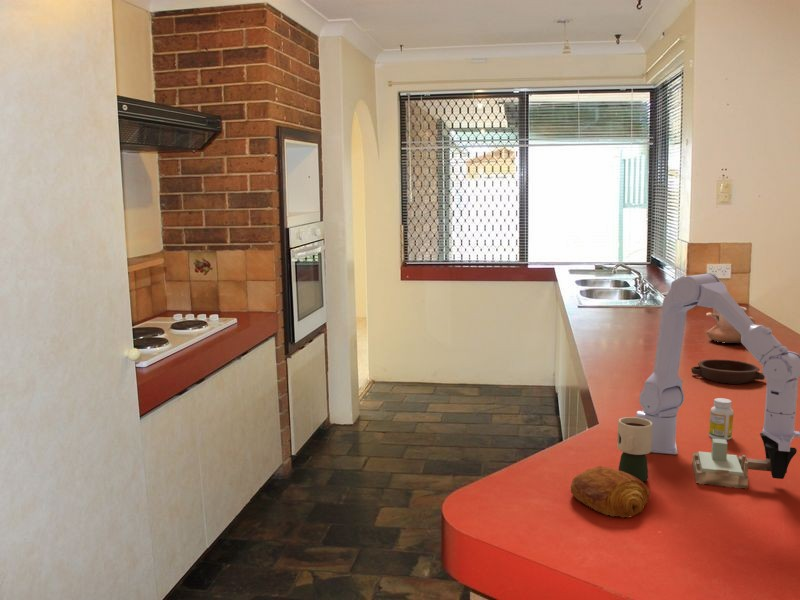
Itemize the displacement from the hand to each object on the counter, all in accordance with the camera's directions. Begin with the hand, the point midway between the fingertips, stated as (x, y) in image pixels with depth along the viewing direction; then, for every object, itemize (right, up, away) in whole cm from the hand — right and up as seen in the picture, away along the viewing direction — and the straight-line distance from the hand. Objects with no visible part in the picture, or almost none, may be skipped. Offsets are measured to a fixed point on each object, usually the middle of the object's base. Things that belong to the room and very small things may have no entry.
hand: (775, 472), depth 160 cm
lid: (-9, 0, +6) cm, 11 cm away
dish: (+27, +10, +87) cm, 92 cm away
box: (-9, -2, +6) cm, 11 cm away
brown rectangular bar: (-2, +1, 0) cm, 2 cm away
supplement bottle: (+2, +2, +32) cm, 32 cm away
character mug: (-29, -3, +5) cm, 29 cm away
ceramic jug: (+52, +19, +142) cm, 153 cm away
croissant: (-37, -5, -7) cm, 38 cm away
